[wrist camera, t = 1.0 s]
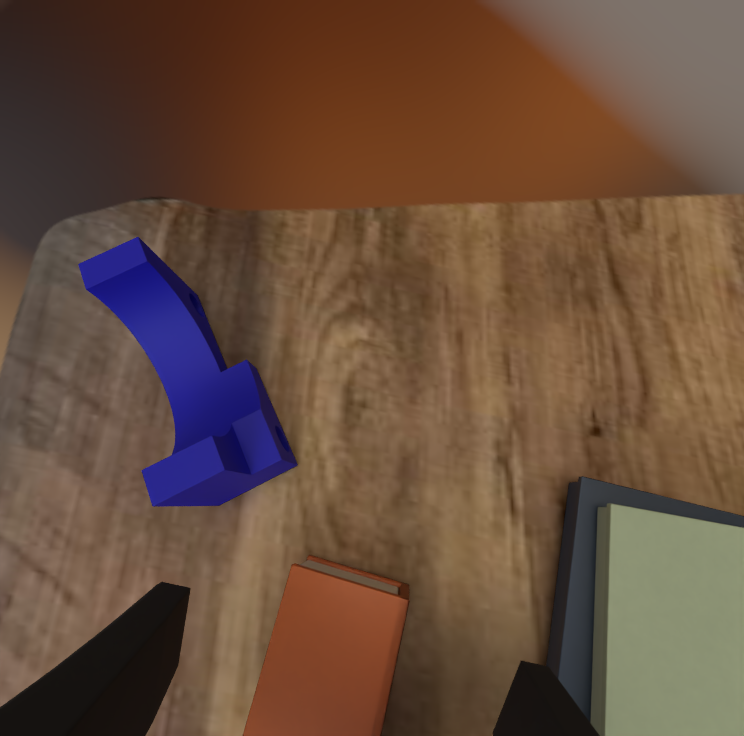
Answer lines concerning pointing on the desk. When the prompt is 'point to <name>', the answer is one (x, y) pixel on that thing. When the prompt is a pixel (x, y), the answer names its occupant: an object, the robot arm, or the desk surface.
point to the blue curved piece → (191, 384)
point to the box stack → (650, 613)
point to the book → (330, 653)
